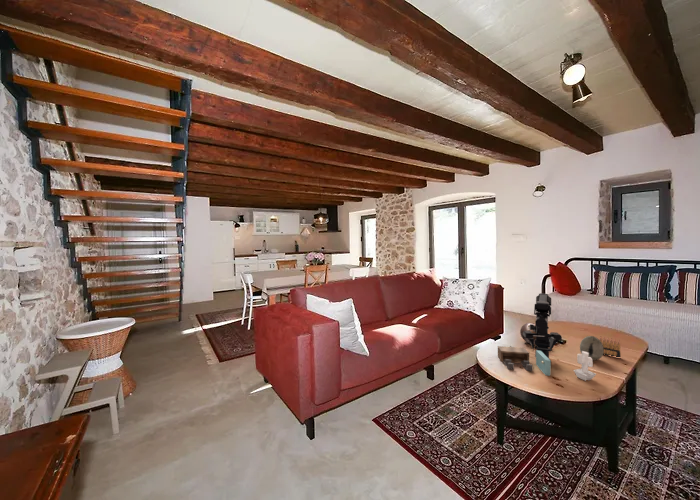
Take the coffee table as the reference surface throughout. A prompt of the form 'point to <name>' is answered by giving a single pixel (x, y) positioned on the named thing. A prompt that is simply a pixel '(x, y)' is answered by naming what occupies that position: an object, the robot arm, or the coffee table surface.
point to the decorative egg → (592, 347)
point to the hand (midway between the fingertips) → (541, 349)
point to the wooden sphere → (527, 328)
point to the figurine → (584, 366)
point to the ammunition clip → (611, 347)
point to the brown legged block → (514, 357)
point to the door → (543, 362)
